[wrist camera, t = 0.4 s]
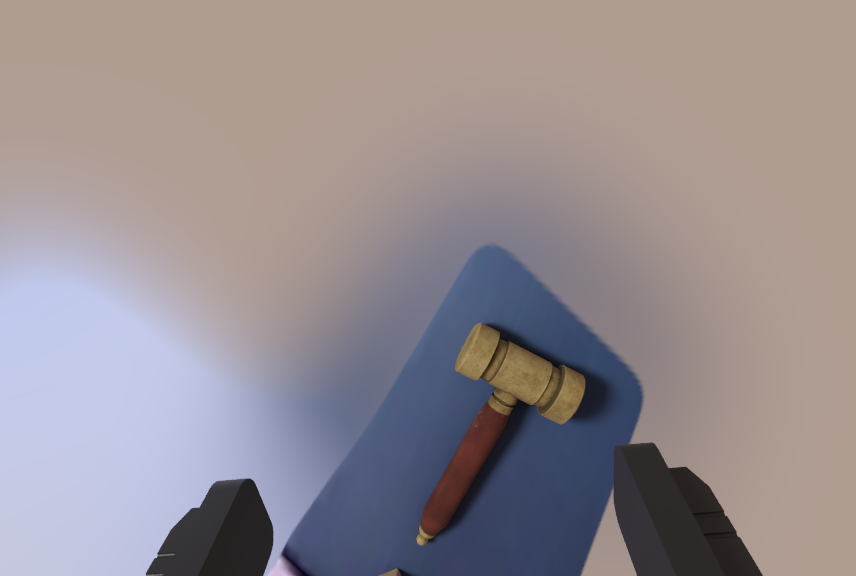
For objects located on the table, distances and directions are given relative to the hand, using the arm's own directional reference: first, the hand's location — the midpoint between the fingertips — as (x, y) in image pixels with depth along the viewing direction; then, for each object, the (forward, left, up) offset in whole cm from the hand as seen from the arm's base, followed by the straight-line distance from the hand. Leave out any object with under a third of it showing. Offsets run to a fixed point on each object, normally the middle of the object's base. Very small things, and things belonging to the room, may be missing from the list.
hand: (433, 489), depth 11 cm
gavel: (-11, +8, -33) cm, 35 cm away
